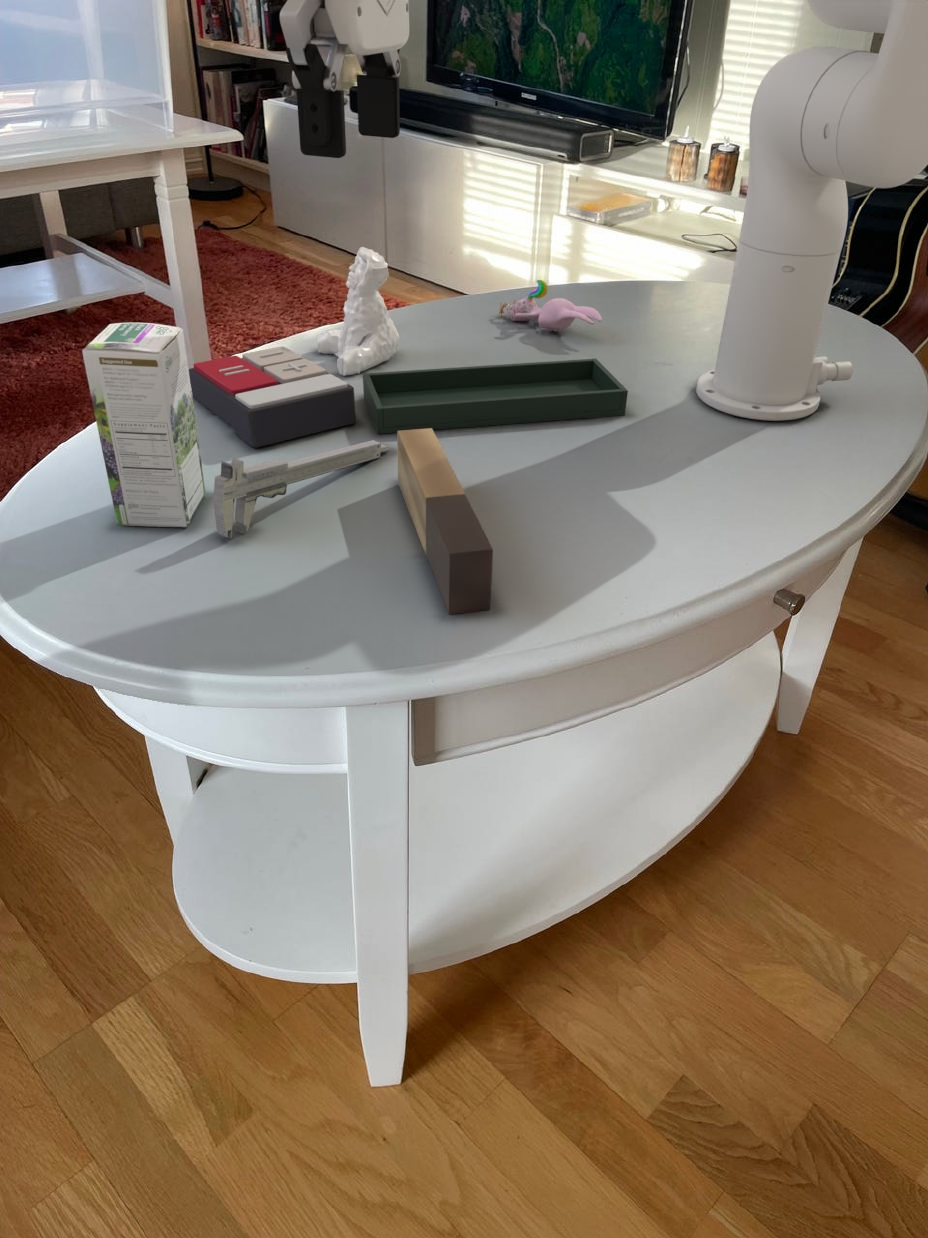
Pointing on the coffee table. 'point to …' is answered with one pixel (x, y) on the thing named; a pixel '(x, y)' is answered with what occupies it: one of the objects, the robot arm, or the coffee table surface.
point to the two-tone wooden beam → (444, 522)
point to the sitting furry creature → (363, 319)
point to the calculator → (272, 395)
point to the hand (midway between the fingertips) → (352, 145)
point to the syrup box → (146, 423)
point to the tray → (492, 395)
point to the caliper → (275, 481)
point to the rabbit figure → (548, 310)
